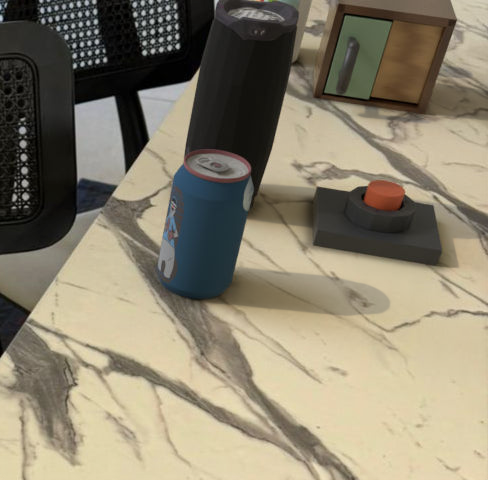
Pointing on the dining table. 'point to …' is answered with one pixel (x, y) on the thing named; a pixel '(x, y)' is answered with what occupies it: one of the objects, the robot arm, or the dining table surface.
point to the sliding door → (357, 56)
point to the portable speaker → (243, 81)
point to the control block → (375, 227)
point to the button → (384, 195)
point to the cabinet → (393, 51)
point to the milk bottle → (302, 4)
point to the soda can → (205, 223)
